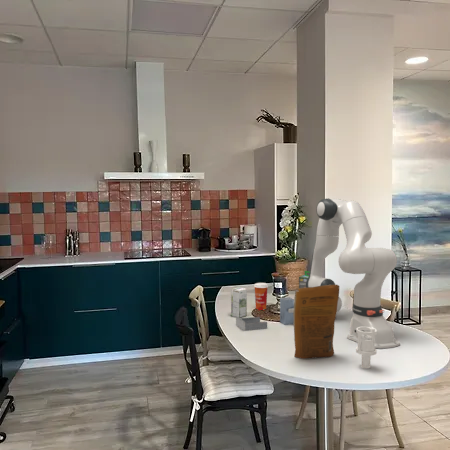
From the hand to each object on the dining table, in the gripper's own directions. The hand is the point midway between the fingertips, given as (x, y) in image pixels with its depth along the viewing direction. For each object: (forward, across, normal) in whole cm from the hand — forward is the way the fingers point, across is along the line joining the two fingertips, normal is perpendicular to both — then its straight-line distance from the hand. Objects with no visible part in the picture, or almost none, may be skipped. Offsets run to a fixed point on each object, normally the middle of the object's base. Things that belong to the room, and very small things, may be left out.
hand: (285, 308), depth 213 cm
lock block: (-1, 0, +7) cm, 7 cm away
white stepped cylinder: (-4, +59, +7) cm, 60 cm away
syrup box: (+17, -19, +7) cm, 27 cm away
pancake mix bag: (+8, +44, +7) cm, 45 cm away
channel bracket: (+17, 0, +7) cm, 19 cm away
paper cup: (+1, -28, +7) cm, 29 cm away
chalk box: (-41, -52, +7) cm, 67 cm away
